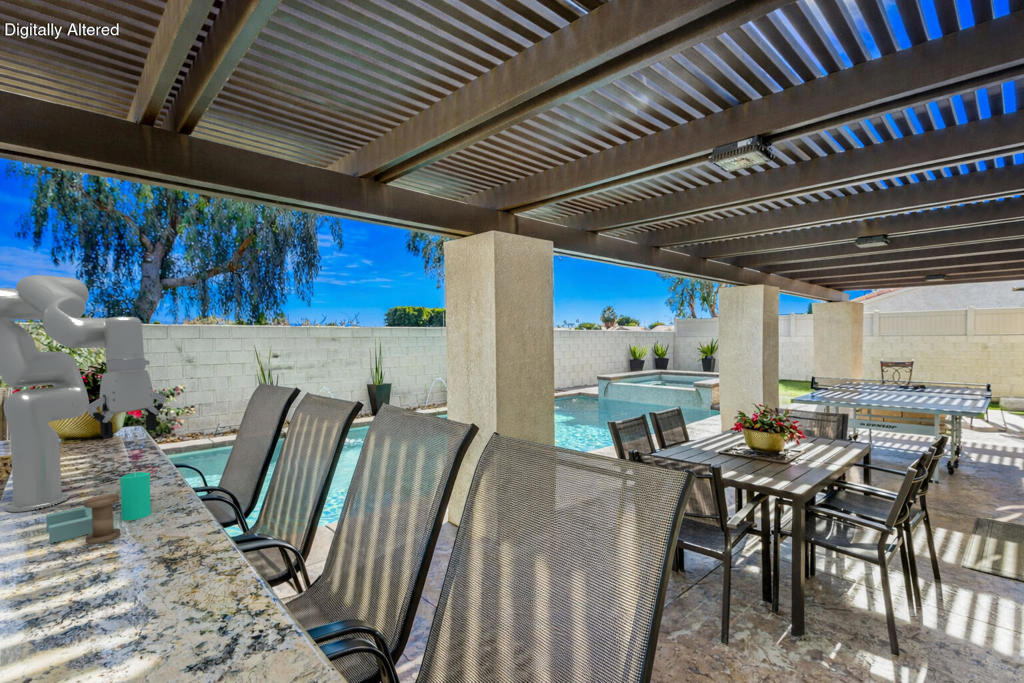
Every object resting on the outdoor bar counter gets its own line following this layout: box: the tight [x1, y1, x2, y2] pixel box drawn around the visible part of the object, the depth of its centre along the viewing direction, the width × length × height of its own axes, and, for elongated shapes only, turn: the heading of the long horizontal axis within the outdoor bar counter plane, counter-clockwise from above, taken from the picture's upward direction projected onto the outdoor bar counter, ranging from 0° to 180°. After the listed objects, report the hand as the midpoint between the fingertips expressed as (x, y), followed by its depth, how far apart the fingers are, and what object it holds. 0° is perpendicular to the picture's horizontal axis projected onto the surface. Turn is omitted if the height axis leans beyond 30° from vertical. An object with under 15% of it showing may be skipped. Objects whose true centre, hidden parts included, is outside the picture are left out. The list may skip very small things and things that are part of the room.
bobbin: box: [83, 493, 121, 545], centre depth 110 cm, size 6×6×9 cm
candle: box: [119, 471, 152, 522], centre depth 123 cm, size 6×6×12 cm
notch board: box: [45, 506, 93, 544], centre depth 115 cm, size 12×9×4 cm
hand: (130, 434), depth 122 cm, fingers open, 9 cm apart
